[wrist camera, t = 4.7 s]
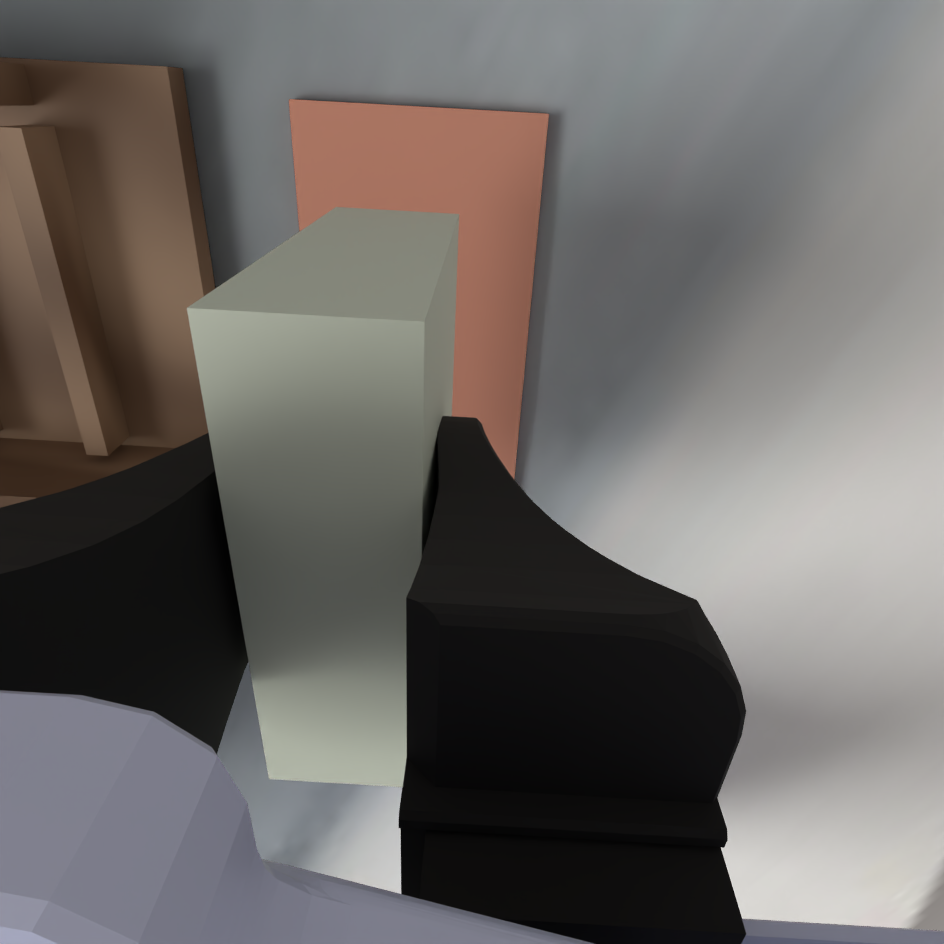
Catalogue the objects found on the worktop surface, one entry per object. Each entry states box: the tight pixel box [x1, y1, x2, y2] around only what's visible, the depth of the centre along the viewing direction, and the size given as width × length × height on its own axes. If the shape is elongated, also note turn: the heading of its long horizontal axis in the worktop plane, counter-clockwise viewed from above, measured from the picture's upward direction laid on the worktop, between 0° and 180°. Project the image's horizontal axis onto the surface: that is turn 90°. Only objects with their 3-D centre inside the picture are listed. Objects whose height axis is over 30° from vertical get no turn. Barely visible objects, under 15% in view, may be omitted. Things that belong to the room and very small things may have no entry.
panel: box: [187, 207, 459, 787], centre depth 11 cm, size 8×2×7 cm, turn 177°
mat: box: [289, 99, 549, 479], centre depth 18 cm, size 11×6×1 cm, turn 177°
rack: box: [0, 57, 215, 508], centre depth 17 cm, size 15×9×4 cm, turn 177°
